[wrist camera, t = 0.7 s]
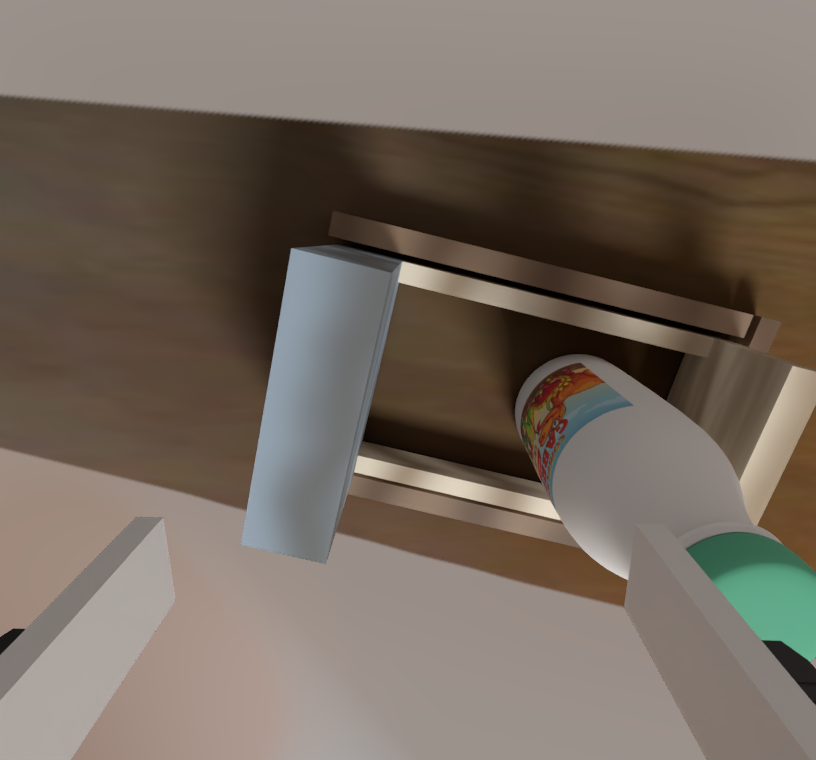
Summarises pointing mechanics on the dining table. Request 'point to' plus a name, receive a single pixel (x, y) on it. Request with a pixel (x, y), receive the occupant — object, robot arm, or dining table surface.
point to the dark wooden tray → (545, 276)
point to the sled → (347, 453)
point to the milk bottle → (657, 490)
